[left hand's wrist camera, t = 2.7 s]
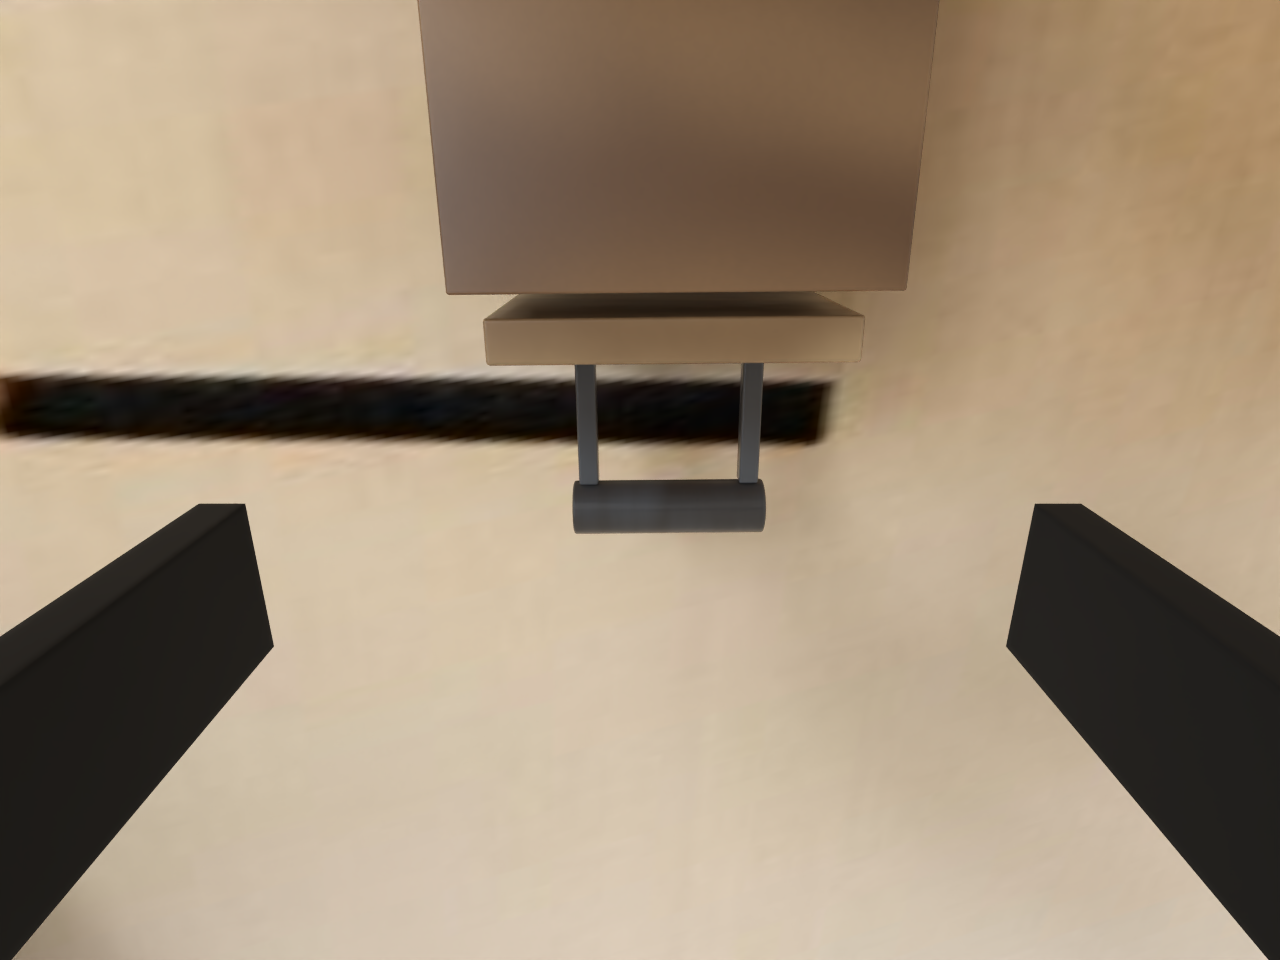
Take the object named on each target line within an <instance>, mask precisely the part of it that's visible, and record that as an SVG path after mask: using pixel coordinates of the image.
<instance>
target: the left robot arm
mask: <svg viewBox="0 0 1280 960" xmlns="http://www.w3.org/2000/svg"><path fill="white" fill-rule="evenodd" d="M273 647H274V645H273V640H272V635H271V630H270V625H269V620H268V615H267V610H266V605H265V600H264V595H263V590H262V585H261V580H260V575H259V570H258V565H257V560H256V555H255V551H254V546H253V541H252V536H251V531H250V526H249V521H248V516H247V511H246V506H245V504H198V505H196V506H195V507H193V508H192V509H190V510H189V511H187V512H186V513H184V514H183V515H181V516H180V517H178V518H177V519H175V520H174V521H172V522H171V523H169V524H168V525H166V526H165V527H163V528H162V529H161V530H159V531H158V532H156V533H155V534H153V535H152V536H150V537H149V538H147V539H146V540H144V541H143V542H141V543H140V544H138V545H137V546H135V547H134V548H132V549H131V550H129V551H128V552H126V553H125V554H123V555H122V556H120V557H119V558H117V559H116V560H114V561H113V562H111V563H110V564H108V565H107V566H105V567H104V568H102V569H101V570H99V571H98V572H96V573H95V574H93V575H92V576H90V577H89V578H87V579H86V580H84V581H83V582H81V583H80V584H78V585H77V586H75V587H74V588H72V589H71V590H69V591H68V592H66V593H65V594H63V595H62V596H60V597H59V598H57V599H56V600H54V601H53V602H51V603H50V604H48V605H47V606H45V607H44V608H42V609H41V610H39V611H38V612H36V613H35V614H33V615H32V616H30V617H29V618H27V619H26V620H24V621H23V622H21V623H20V624H18V625H17V626H15V627H14V628H12V629H11V630H9V631H8V632H6V633H5V634H3V635H2V636H0V960H12V959H13V957H14V956H15V955H16V954H17V953H18V951H19V950H20V949H21V948H22V947H23V945H24V944H25V943H26V942H27V941H28V939H29V938H30V937H31V936H32V935H33V933H34V932H35V931H36V930H37V929H38V927H39V926H40V925H41V924H42V923H43V921H44V920H45V919H46V918H47V917H48V916H49V914H50V913H51V912H52V911H53V910H54V908H55V907H56V906H57V905H58V904H59V902H60V901H61V900H62V899H63V898H64V896H65V895H66V894H67V893H68V892H69V890H70V889H71V888H72V887H73V886H74V884H75V883H76V882H77V881H78V880H79V878H80V877H81V876H82V875H83V874H84V873H85V871H86V870H87V869H88V868H89V867H90V865H91V864H92V863H93V862H94V861H95V859H96V858H97V857H98V856H99V855H100V853H101V852H102V851H103V850H104V849H105V847H106V846H107V845H108V844H109V843H110V841H111V840H112V839H113V838H114V837H115V835H116V834H117V833H118V832H119V831H120V829H121V828H122V827H123V826H124V825H125V824H126V822H127V821H128V820H129V819H130V818H131V816H132V815H133V814H134V813H135V812H136V810H137V809H138V808H139V807H140V806H141V804H142V803H143V802H144V801H145V800H146V798H147V797H148V796H149V795H150V794H151V792H152V791H153V790H154V789H155V788H156V786H157V785H158V784H159V783H160V782H161V781H162V779H163V778H164V777H165V776H166V775H167V773H168V772H169V771H170V770H171V769H172V767H173V766H174V765H175V764H176V763H177V761H178V760H179V759H180V758H181V757H182V755H183V754H184V753H185V752H186V751H187V749H188V748H189V747H190V746H191V745H192V743H193V742H194V741H195V740H196V739H197V738H198V736H199V735H200V734H201V733H202V732H203V730H204V729H205V728H206V727H207V726H208V724H209V723H210V722H211V721H212V720H213V718H214V717H215V716H216V715H217V714H218V712H219V711H220V710H221V709H222V708H223V706H224V705H225V704H226V703H227V702H228V700H229V699H230V698H231V697H232V696H233V695H234V693H235V692H236V691H237V690H238V689H239V687H240V686H241V685H242V684H243V683H244V681H245V680H246V679H247V678H248V677H249V675H250V674H251V673H252V672H253V671H254V669H255V668H256V667H257V666H258V665H259V663H260V662H261V661H262V660H263V659H264V657H265V656H266V655H267V654H268V653H269V652H270V650H271V649H272V648H273ZM1006 647H1007V648H1008V649H1009V650H1010V652H1011V653H1012V654H1013V655H1014V656H1015V657H1016V659H1017V660H1018V661H1019V662H1020V663H1021V665H1022V666H1023V667H1024V668H1025V669H1026V671H1027V672H1028V673H1029V674H1030V675H1031V677H1032V678H1033V679H1034V680H1035V681H1036V683H1037V684H1038V685H1039V686H1040V687H1041V689H1042V690H1043V691H1044V692H1045V693H1046V695H1047V696H1048V697H1049V698H1050V699H1051V700H1052V702H1053V703H1054V704H1055V705H1056V706H1057V708H1058V709H1059V710H1060V711H1061V712H1062V714H1063V715H1064V716H1065V717H1066V718H1067V720H1068V721H1069V722H1070V723H1071V724H1072V726H1073V727H1074V728H1075V729H1076V730H1077V732H1078V733H1079V734H1080V735H1081V736H1082V738H1083V739H1084V740H1085V741H1086V742H1087V743H1088V745H1089V746H1090V747H1091V748H1092V749H1093V751H1094V752H1095V753H1096V754H1097V755H1098V757H1099V758H1100V759H1101V760H1102V761H1103V763H1104V764H1105V765H1106V766H1107V767H1108V769H1109V770H1110V771H1111V772H1112V773H1113V775H1114V776H1115V777H1116V778H1117V779H1118V781H1119V782H1120V783H1121V784H1122V785H1123V786H1124V788H1125V789H1126V790H1127V791H1128V792H1129V794H1130V795H1131V796H1132V797H1133V798H1134V800H1135V801H1136V802H1137V803H1138V804H1139V806H1140V807H1141V808H1142V809H1143V810H1144V812H1145V813H1146V814H1147V815H1148V816H1149V818H1150V819H1151V820H1152V821H1153V822H1154V824H1155V825H1156V826H1157V827H1158V828H1159V830H1160V831H1161V832H1162V833H1163V834H1164V835H1165V837H1166V838H1167V839H1168V840H1169V841H1170V843H1171V844H1172V845H1173V846H1174V847H1175V849H1176V850H1177V851H1178V852H1179V853H1180V855H1181V856H1182V857H1183V858H1184V859H1185V861H1186V862H1187V863H1188V864H1189V865H1190V867H1191V868H1192V869H1193V870H1194V871H1195V873H1196V874H1197V875H1198V876H1199V877H1200V878H1201V880H1202V881H1203V882H1204V883H1205V884H1206V886H1207V887H1208V888H1209V889H1210V890H1211V892H1212V893H1213V894H1214V895H1215V896H1216V898H1217V899H1218V900H1219V901H1220V902H1221V904H1222V905H1223V906H1224V907H1225V908H1226V910H1227V911H1228V912H1229V913H1230V914H1231V916H1232V917H1233V918H1234V919H1235V920H1236V921H1237V923H1238V924H1239V925H1240V926H1241V927H1242V929H1243V930H1244V931H1245V932H1246V933H1247V935H1248V936H1249V937H1250V938H1251V939H1252V941H1253V942H1254V943H1255V944H1256V945H1257V947H1258V948H1259V949H1260V950H1261V951H1262V953H1263V954H1264V955H1265V956H1266V957H1267V959H1268V960H1280V636H1278V635H1277V634H1275V633H1274V632H1272V631H1271V630H1269V629H1268V628H1266V627H1265V626H1263V625H1262V624H1260V623H1259V622H1257V621H1256V620H1254V619H1253V618H1251V617H1250V616H1248V615H1247V614H1245V613H1244V612H1242V611H1241V610H1239V609H1238V608H1236V607H1235V606H1233V605H1232V604H1230V603H1229V602H1227V601H1226V600H1224V599H1223V598H1221V597H1220V596H1218V595H1217V594H1215V593H1214V592H1212V591H1211V590H1209V589H1208V588H1206V587H1205V586H1203V585H1202V584H1200V583H1199V582H1197V581H1196V580H1194V579H1193V578H1191V577H1190V576H1188V575H1187V574H1185V573H1184V572H1182V571H1181V570H1179V569H1178V568H1176V567H1175V566H1173V565H1172V564H1170V563H1169V562H1167V561H1166V560H1164V559H1163V558H1161V557H1160V556H1158V555H1157V554H1155V553H1154V552H1152V551H1151V550H1149V549H1148V548H1146V547H1145V546H1143V545H1142V544H1140V543H1139V542H1137V541H1136V540H1134V539H1133V538H1131V537H1130V536H1128V535H1127V534H1125V533H1124V532H1122V531H1121V530H1119V529H1118V528H1117V527H1115V526H1114V525H1112V524H1111V523H1109V522H1108V521H1106V520H1105V519H1103V518H1102V517H1100V516H1099V515H1097V514H1096V513H1094V512H1093V511H1091V510H1090V509H1088V508H1087V507H1085V506H1084V505H1082V504H1035V506H1034V511H1033V516H1032V521H1031V526H1030V531H1029V536H1028V541H1027V546H1026V551H1025V555H1024V560H1023V565H1022V570H1021V575H1020V580H1019V585H1018V590H1017V595H1016V600H1015V605H1014V610H1013V615H1012V620H1011V625H1010V630H1009V635H1008V640H1007V645H1006Z"/></svg>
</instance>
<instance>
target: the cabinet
mask: <svg viewBox="0 0 1280 960" xmlns="http://www.w3.org/2000/svg"><path fill="white" fill-rule="evenodd" d="M417 1H418V11H419V21H420V31H421V41H422V52H423V62H424V72H425V82H426V92H427V103H428V113H429V123H430V133H431V143H432V154H433V164H434V174H435V184H436V194H437V204H438V215H439V225H440V235H441V245H442V255H443V266H444V276H445V286H446V293H447V294H448V295H481V294H585V293H690V292H794V291H898V290H906V287H907V279H908V270H909V261H910V252H911V244H912V235H913V226H914V217H915V209H916V200H917V191H918V182H919V174H920V165H921V156H922V147H923V138H924V130H925V121H926V112H927V103H928V95H929V86H930V77H931V68H932V60H933V51H934V42H935V33H936V24H937V16H938V7H939V0H417Z"/></svg>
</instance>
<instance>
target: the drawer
mask: <svg viewBox="0 0 1280 960" xmlns="http://www.w3.org/2000/svg"><path fill="white" fill-rule="evenodd" d="M864 323H865V317H864V316H863V315H861V314H859V313H857V312H855V311H853V310H850V309H848V308H846V307H844V306H842V305H840V304H838V303H836V302H834V301H831V300H829V299H827V298H825V297H823V296H821V295H819V294H817V293H814V292H812V291H794V292H690V293H585V294H519V295H517V296H516V297H514V298H513V299H512V300H510V301H509V302H507V303H506V304H505V305H503V306H502V307H501V308H499V309H498V310H496V311H495V312H494V313H492V314H491V315H490V316H488V317H487V318H485V319H484V321H483V328H484V340H485V352H486V362H487V364H488V365H490V366H497V365H575V384H576V409H577V434H578V459H579V481H575V482H574V486H573V526H574V531H575V533H576V534H600V533H702V532H761V531H763V528H764V525H765V517H766V498H765V489H764V484H763V482H762V480H761V479H758V468H759V448H760V428H761V408H762V388H763V368H764V363H808V362H859V361H860V360H861V354H862V344H863V334H864ZM704 363H741V385H740V410H739V435H738V461H737V478H738V479H705V480H602V481H599V452H598V419H597V386H596V365H601V364H704Z"/></svg>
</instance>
